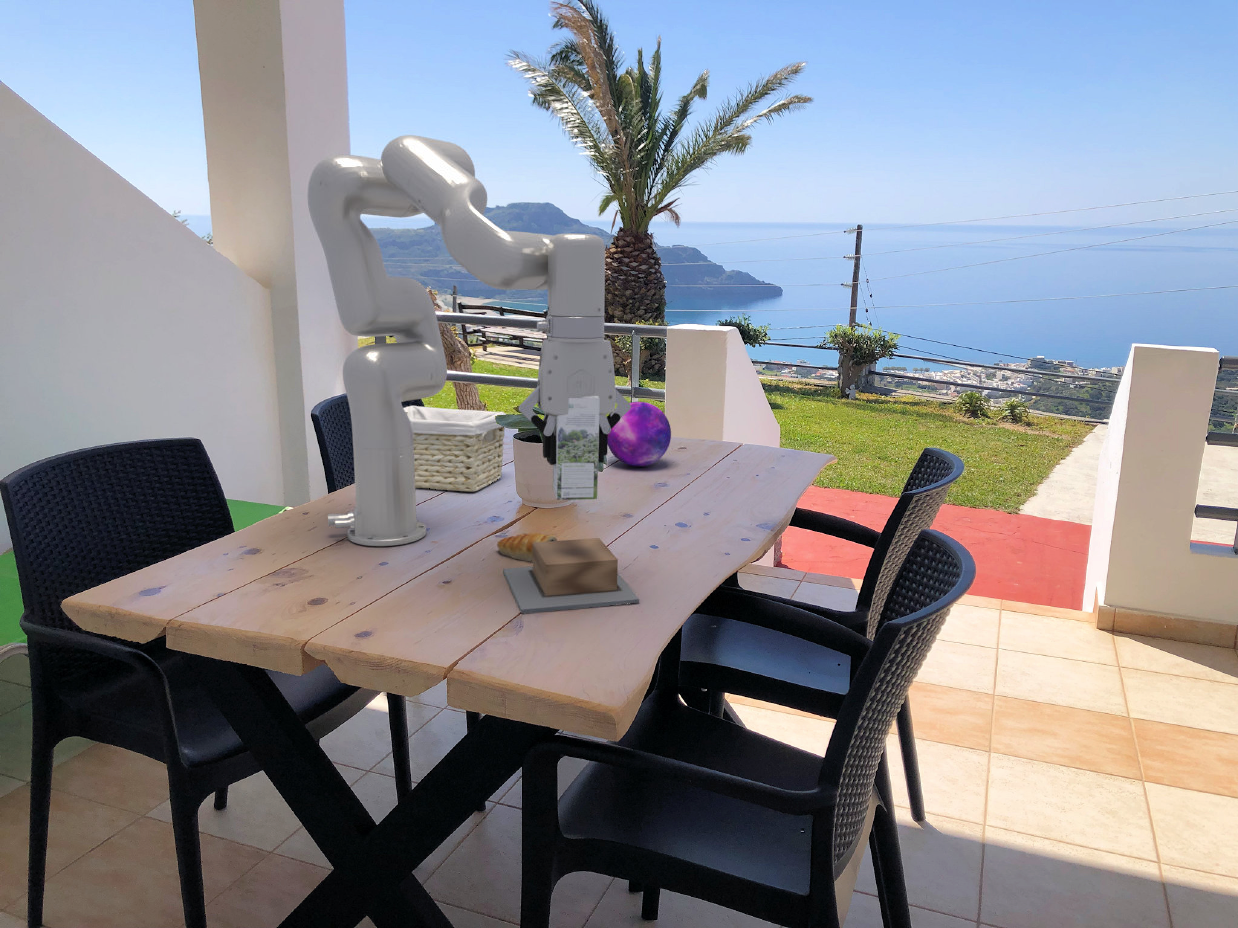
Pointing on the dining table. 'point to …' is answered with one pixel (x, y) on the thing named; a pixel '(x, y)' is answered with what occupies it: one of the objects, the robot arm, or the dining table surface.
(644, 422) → the decorative orb
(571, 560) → the plinth
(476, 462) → the storage basket
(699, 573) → the dining table surface
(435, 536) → the dining table surface
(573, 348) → the robot arm
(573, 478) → the syrup box
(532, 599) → the slate mat
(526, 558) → the pastry
